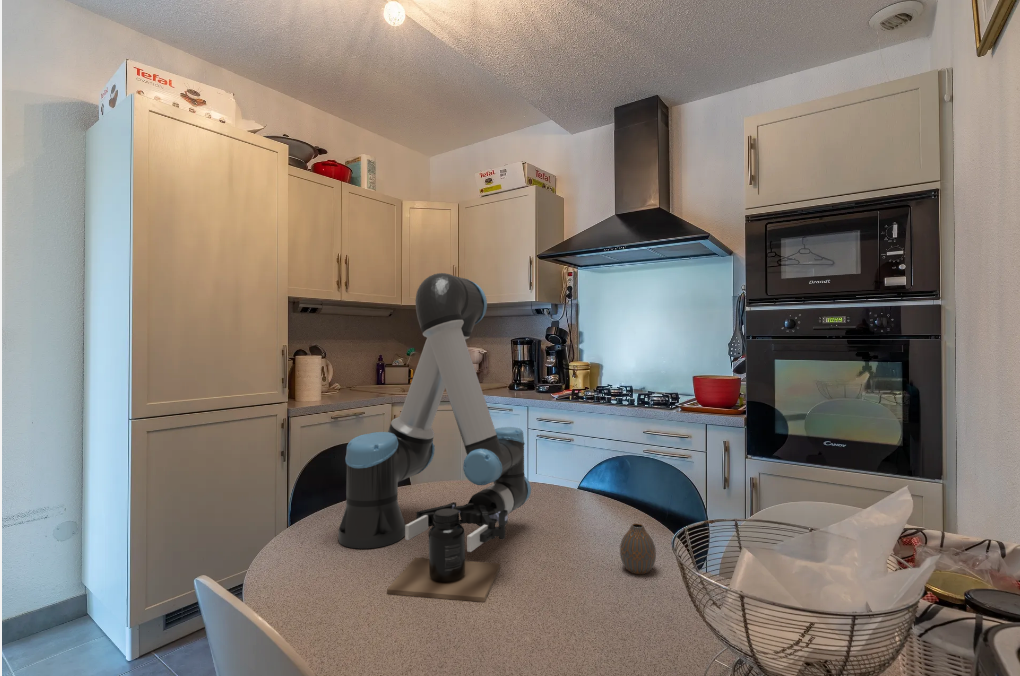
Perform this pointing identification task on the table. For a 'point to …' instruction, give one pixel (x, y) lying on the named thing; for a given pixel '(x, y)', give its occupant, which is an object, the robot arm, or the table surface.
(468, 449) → the robot arm
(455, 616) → the table surface
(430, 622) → the table surface
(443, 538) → the supplement bottle
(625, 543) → the vase
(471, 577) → the board
